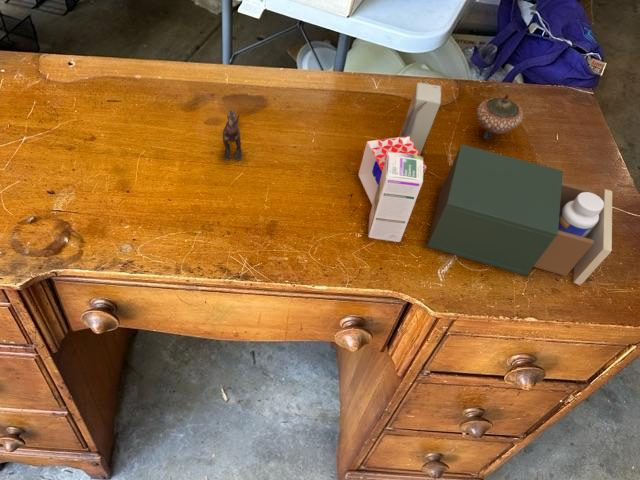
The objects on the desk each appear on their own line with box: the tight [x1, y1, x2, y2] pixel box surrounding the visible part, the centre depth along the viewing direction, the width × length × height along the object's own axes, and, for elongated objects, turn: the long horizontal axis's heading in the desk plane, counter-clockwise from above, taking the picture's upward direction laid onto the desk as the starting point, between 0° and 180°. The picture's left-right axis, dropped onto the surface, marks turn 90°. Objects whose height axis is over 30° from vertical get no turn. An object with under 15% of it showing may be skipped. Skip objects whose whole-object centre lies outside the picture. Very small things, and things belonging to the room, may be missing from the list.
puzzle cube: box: [357, 136, 427, 205], centre depth 101 cm, size 8×8×8 cm
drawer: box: [533, 181, 613, 286], centre depth 93 cm, size 17×13×9 cm
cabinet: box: [426, 144, 564, 277], centre depth 95 cm, size 17×15×11 cm
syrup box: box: [367, 152, 424, 243], centre depth 93 cm, size 6×6×14 cm
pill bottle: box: [558, 192, 604, 237], centre depth 92 cm, size 5×5×10 cm
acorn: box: [476, 94, 524, 139], centre depth 109 cm, size 8×8×10 cm
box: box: [398, 82, 442, 155], centre depth 105 cm, size 5×4×13 cm
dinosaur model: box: [222, 110, 243, 161], centre depth 105 cm, size 4×12×15 cm
